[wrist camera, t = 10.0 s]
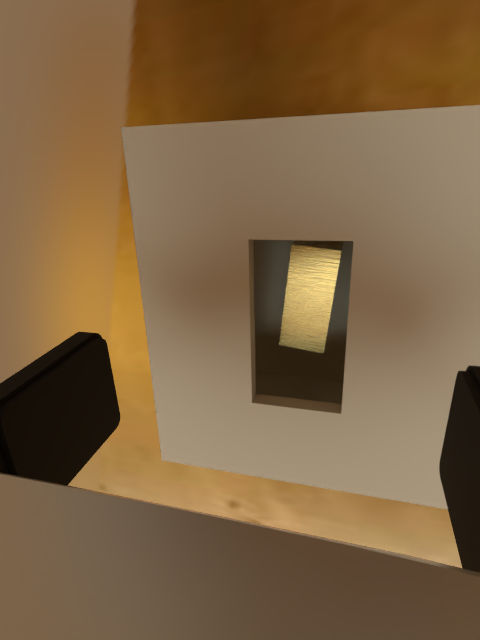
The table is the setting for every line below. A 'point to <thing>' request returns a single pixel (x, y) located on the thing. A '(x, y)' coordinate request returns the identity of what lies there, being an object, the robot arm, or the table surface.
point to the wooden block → (310, 293)
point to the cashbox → (348, 303)
